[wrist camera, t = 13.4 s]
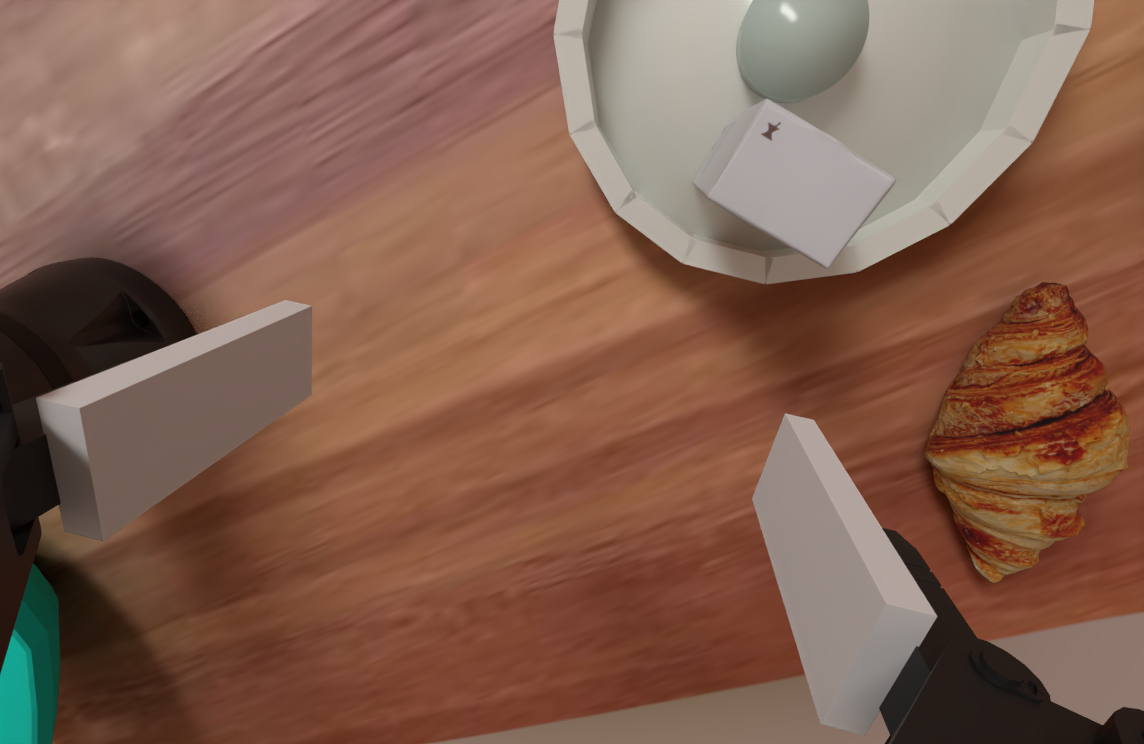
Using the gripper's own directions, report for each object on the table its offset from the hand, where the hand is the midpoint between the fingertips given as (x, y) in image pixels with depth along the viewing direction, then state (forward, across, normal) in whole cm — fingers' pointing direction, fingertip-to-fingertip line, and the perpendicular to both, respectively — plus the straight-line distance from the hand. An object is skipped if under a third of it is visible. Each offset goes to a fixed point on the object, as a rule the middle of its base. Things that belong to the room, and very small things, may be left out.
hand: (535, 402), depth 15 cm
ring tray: (+23, +8, +14) cm, 28 cm away
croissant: (+23, +28, -6) cm, 37 cm away
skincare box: (+22, +8, +7) cm, 24 cm away
